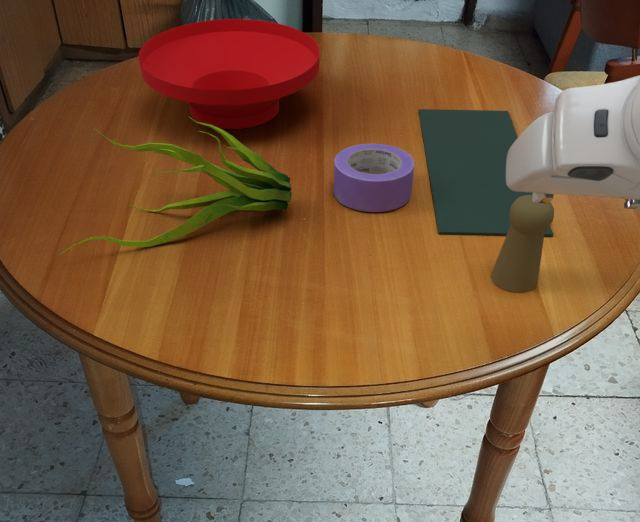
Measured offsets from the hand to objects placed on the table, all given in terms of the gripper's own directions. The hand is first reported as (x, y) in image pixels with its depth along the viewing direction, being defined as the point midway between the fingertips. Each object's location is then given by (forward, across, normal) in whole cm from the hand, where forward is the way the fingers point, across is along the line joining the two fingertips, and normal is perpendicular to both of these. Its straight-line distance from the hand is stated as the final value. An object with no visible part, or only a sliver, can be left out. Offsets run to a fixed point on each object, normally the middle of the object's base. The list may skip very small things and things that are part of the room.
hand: (585, 198), depth 67 cm
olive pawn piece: (+21, 0, +3) cm, 21 cm away
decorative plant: (+30, +43, -3) cm, 53 cm away
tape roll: (+36, +17, -13) cm, 41 cm away
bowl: (+56, +40, -34) cm, 76 cm away
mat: (+40, 0, -20) cm, 45 cm away
